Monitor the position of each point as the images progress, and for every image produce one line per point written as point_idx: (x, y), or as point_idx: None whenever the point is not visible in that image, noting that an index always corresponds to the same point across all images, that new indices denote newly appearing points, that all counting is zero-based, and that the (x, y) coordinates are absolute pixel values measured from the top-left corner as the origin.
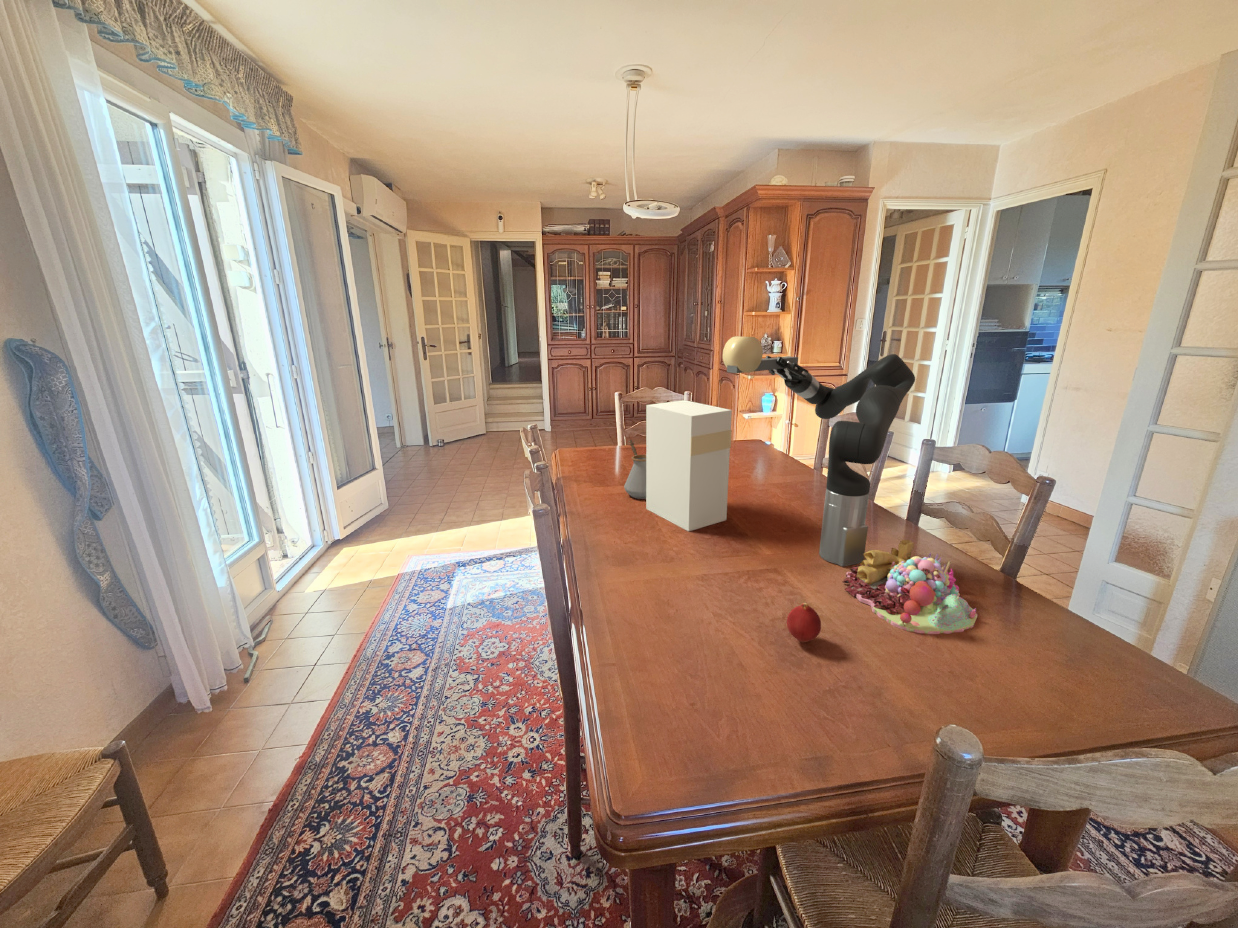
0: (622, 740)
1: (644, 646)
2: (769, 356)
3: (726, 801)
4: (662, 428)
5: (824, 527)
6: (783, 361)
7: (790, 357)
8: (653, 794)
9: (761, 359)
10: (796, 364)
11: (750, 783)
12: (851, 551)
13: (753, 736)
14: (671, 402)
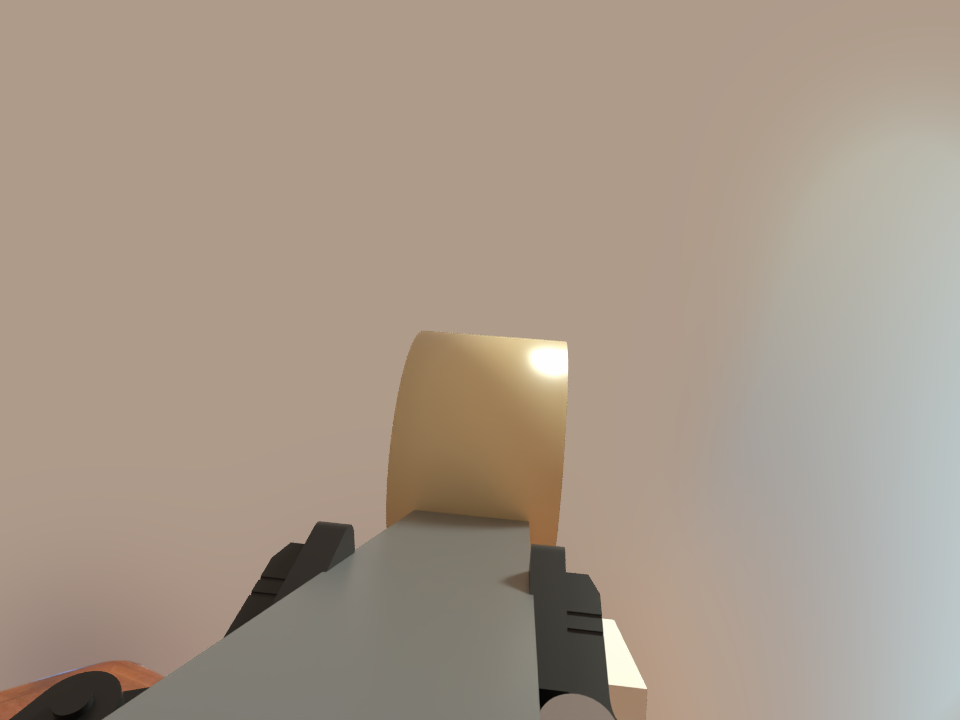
0: (142, 678)
1: None
2: (531, 556)
3: (34, 681)
4: None
5: None
6: (271, 597)
7: (254, 671)
8: (97, 669)
9: (387, 494)
10: (27, 710)
11: (14, 692)
12: None
13: (14, 712)
14: (617, 654)
